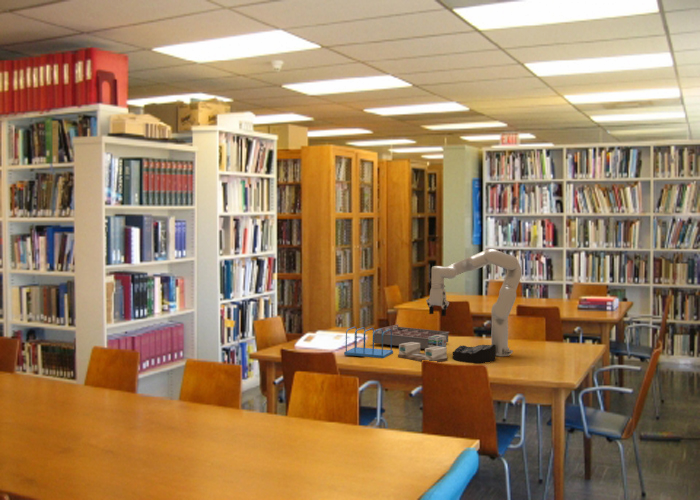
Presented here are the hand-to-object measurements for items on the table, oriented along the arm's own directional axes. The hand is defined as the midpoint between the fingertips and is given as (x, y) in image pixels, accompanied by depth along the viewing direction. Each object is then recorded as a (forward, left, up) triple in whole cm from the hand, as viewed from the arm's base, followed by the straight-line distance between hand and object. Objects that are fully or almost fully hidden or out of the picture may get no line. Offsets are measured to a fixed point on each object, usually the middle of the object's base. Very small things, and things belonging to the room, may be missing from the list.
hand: (437, 314), depth 428 cm
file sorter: (+27, +31, -24) cm, 48 cm away
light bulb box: (0, 0, -24) cm, 24 cm away
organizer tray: (+33, -13, -24) cm, 42 cm away
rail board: (-5, +18, -24) cm, 30 cm away
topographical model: (-25, -4, -24) cm, 35 cm away
